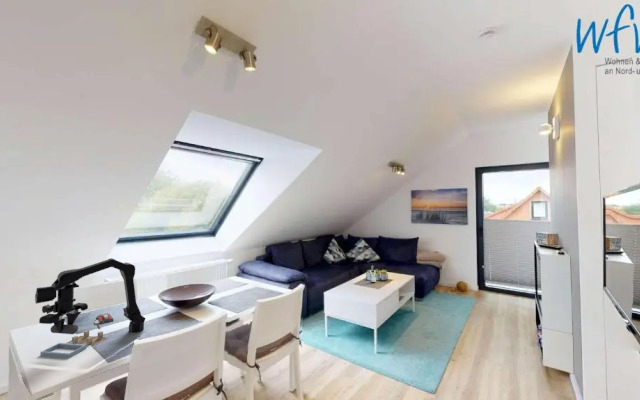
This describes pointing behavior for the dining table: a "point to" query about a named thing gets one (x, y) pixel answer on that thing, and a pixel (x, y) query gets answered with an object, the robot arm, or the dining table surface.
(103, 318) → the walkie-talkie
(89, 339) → the block
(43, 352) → the tray
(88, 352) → the dining table surface
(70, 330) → the tan-capped grey cylinder
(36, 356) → the dining table surface
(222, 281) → the dining table surface
